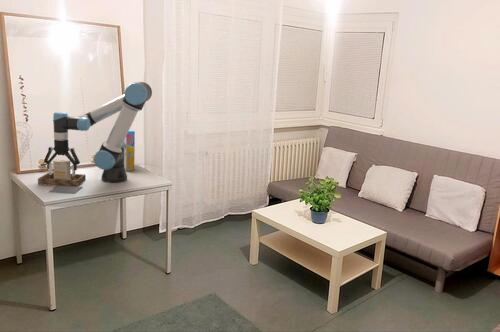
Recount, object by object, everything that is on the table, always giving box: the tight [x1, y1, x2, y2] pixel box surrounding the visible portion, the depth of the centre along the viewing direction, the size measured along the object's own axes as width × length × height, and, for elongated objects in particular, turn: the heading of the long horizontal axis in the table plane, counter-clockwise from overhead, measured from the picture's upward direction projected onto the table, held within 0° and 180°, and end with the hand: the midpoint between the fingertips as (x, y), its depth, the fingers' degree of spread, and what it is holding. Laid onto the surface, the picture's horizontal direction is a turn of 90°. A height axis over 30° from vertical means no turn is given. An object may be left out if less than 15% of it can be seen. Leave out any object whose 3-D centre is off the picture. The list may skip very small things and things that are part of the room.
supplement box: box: [52, 159, 72, 180], centre depth 249 cm, size 8×5×13 cm, turn 84°
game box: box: [123, 128, 136, 172], centre depth 290 cm, size 21×6×27 cm, turn 30°
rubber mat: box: [48, 185, 83, 195], centre depth 237 cm, size 14×12×1 cm
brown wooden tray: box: [37, 172, 87, 187], centre depth 250 cm, size 22×14×4 cm, turn 93°
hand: (62, 175), depth 249 cm, fingers open, 12 cm apart
